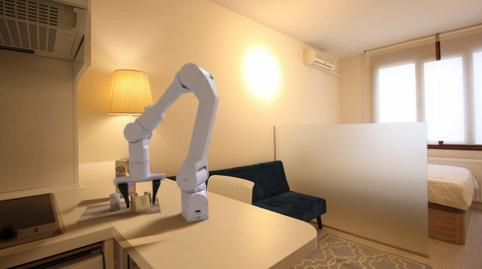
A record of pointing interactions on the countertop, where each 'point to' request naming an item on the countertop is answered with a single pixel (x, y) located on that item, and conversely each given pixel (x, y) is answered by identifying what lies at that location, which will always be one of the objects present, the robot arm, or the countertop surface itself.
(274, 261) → the countertop surface
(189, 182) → the robot arm
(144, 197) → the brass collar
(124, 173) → the candy box
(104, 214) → the keyed post board
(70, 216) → the countertop surface
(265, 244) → the countertop surface
